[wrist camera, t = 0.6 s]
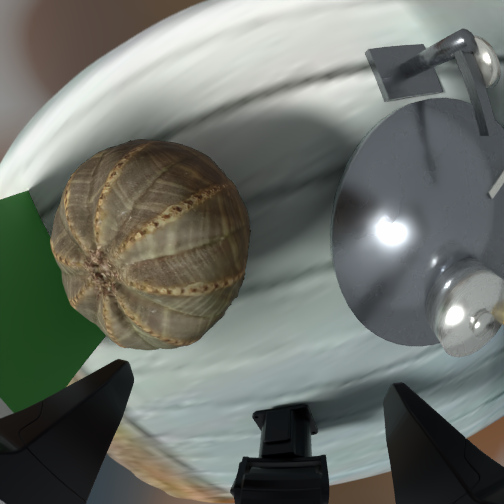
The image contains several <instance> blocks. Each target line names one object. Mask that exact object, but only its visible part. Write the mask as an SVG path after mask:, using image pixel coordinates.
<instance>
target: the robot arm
mask: <svg viewBox="0 0 504 504" xmlns="http://www.w3.org/2000/svg"><path fill="white" fill-rule="evenodd" d="M133 383H134V376H133V373H132V370H131V367H130V364H129V362H128V361H125V360H121V359H117V360H115V361H113V362H111V363H110V364H108V365H106V366H104V367H102V368H101V369H99V370H97V371H95V372H93V373H92V374H90V375H88V376H86V377H84V378H82V379H81V380H79V381H77V382H75V383H73V384H71V385H70V386H68V387H66V388H64V389H62V390H60V391H58V392H57V393H55V394H53V395H51V396H49V397H47V398H45V399H44V400H41V401H39V402H37V403H36V404H33V405H31V406H29V407H27V408H25V409H23V410H20V411H18V412H16V413H13V414H10V415H8V416H5V417H2V418H0V504H86V501H87V499H88V497H89V494H90V492H91V489H92V487H93V484H94V482H95V479H96V477H97V474H98V472H99V470H100V467H101V465H102V462H103V460H104V458H105V455H106V453H107V451H108V449H109V446H110V444H111V442H112V439H113V437H114V435H115V433H116V430H117V428H118V426H119V424H120V422H121V419H122V417H123V414H124V411H125V408H126V405H127V402H128V399H129V396H130V393H131V390H132V387H133ZM383 406H384V417H385V429H386V441H387V447H388V453H389V459H390V465H391V471H392V478H393V485H394V492H395V501H396V504H504V467H503V466H501V465H500V464H498V463H497V462H496V461H494V460H493V459H491V458H490V457H489V456H487V455H486V454H484V453H483V452H482V451H481V450H479V449H478V448H477V447H476V446H475V445H473V444H472V443H471V442H470V441H469V440H468V439H465V437H464V436H463V435H462V434H461V433H460V432H459V431H458V430H456V429H455V428H454V427H453V426H452V425H451V424H450V423H449V422H447V421H446V420H445V419H444V418H443V417H442V416H441V415H440V414H438V413H437V412H436V411H435V410H434V409H433V408H432V407H431V406H429V405H428V404H427V403H426V402H425V401H424V400H423V399H422V398H420V397H419V396H418V395H417V394H416V393H415V392H414V391H412V390H411V389H410V388H409V387H408V386H407V385H406V384H404V383H402V382H400V383H393V384H392V385H391V386H390V388H389V390H388V392H387V394H386V396H385V398H384V402H383ZM252 417H253V419H254V421H255V422H256V424H257V425H258V427H259V428H260V430H261V431H262V432H261V441H260V451H259V458H249V457H243V459H242V462H240V463H239V469H238V473H237V476H236V479H235V481H234V483H233V485H232V487H231V490H230V493H231V494H232V495H233V496H234V500H235V504H328V500H329V478H328V469H327V461H326V455H321V456H312V450H311V435H314V434H317V433H318V429H317V427H316V424H315V422H314V419H313V417H312V414H311V412H310V409H309V407H308V405H299V406H293V407H288V408H282V409H276V410H269V411H262V412H255V413H253V416H252Z"/></svg>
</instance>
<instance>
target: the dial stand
mask: <svg viewBox="0 0 504 504" xmlns="http://www.w3.org/2000/svg"><path fill="white" fill-rule="evenodd" d="M365 55H366V57H367V59H368V61H369V64H370V66H371V68H372V71H373V73H374V76H375V78H376V80H377V83H378V86H379V88H380V91H381V93H382V96H383V99H384V102H386V101H391V100H397V99H403V98H408V97H415V96H421V95H428V94H436V93H440V92H443V91H442V89H441V86H440V83H439V80H438V78H437V75H436V72H435V70H434V67H435V66H437V65H440V64H442V63H444V62H447V61H449V60H451V59H454V58H456V61H457V64H458V67H459V69H460V71H461V73H462V76H463V78H464V81H465V84H466V87H467V90H468V93H469V96H470V99H471V103H472V106H473V109H474V113H475V117H476V120H477V124H478V128H479V133H480V136H493V135H498V132H497V127H496V123H495V119H494V115H493V111H492V108H491V104H490V101H489V97H488V94H487V91H486V88H491V87H494V86H495V85H496V84H497V83H498V81H499V79H500V63H499V60H498V57H497V55H496V53H495V51H494V49H493V48H492V46H491V45H490V44H489V43H488V42H487V41H486V40H485V39H483V38H481V37H479V36H474V35H473V34H472V33H471V32H470V31H468V30H466V29H461V30H459V31H457V32H455V33H453V34H452V35H450V36H448V37H446V38H444V39H443V40H441V41H439V42H437V43H436V44H434V45H432V46H430V47H429V48H427V49H425V46H424V44H418V45H402V46H391V47H382V48H374V49H368V50H367V51H366V53H365Z"/></svg>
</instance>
